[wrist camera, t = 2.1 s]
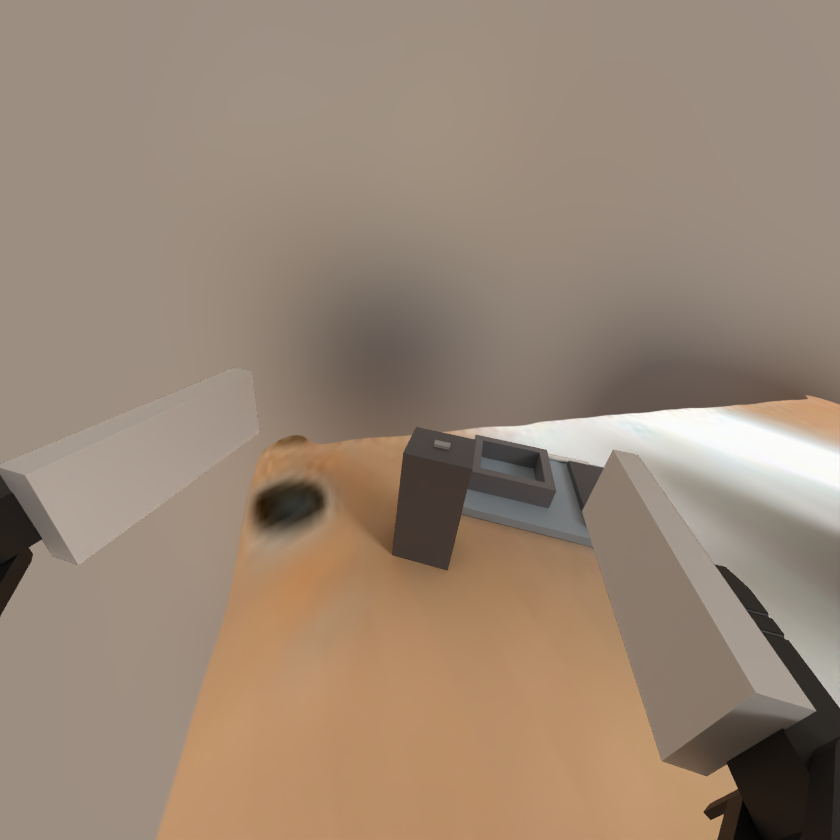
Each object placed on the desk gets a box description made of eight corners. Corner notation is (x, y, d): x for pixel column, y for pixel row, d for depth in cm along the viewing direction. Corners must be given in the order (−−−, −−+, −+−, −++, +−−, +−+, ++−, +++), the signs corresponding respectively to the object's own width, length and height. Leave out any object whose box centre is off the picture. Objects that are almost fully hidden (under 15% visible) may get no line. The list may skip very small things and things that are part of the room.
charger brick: (453, 534, 31) (476, 437, 25) (447, 570, 27) (473, 466, 22) (404, 522, 32) (416, 424, 26) (392, 554, 28) (403, 450, 23)
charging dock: (623, 478, 43) (635, 457, 41) (672, 567, 30) (691, 542, 29) (468, 444, 46) (473, 423, 44) (457, 513, 33) (463, 487, 32)
